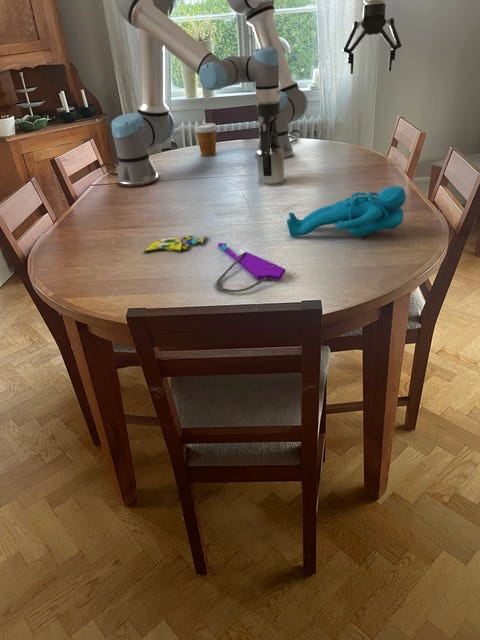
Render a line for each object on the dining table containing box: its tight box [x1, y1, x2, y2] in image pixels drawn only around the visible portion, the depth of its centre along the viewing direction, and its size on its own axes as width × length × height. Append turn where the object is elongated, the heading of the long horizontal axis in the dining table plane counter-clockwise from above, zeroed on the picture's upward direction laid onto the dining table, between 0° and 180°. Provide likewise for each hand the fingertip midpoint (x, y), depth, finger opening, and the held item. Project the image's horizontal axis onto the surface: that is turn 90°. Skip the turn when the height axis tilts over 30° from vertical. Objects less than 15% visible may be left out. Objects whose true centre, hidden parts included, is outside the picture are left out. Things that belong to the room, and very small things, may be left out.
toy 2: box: [286, 185, 407, 238], centre depth 125 cm, size 17×11×30 cm
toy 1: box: [144, 234, 207, 254], centre depth 130 cm, size 10×1×15 cm
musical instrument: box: [216, 242, 286, 293], centre depth 114 cm, size 24×2×20 cm
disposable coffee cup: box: [194, 122, 218, 157], centre depth 207 cm, size 10×10×12 cm
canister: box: [256, 148, 285, 185], centre depth 167 cm, size 9×9×10 cm
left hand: (270, 171), depth 168 cm, fingers closed on canister, 9 cm apart
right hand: (370, 72), depth 177 cm, fingers open, 13 cm apart
